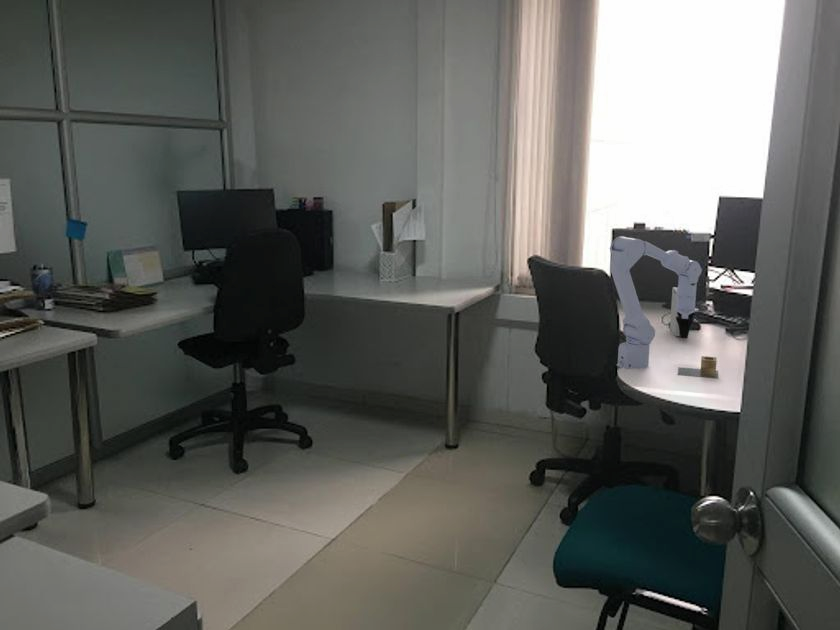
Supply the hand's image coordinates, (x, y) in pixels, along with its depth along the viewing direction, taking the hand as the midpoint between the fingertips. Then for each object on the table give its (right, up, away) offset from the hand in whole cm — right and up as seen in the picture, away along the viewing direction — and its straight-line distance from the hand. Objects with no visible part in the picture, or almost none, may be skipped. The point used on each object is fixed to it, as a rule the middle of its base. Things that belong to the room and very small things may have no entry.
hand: (684, 335), depth 240 cm
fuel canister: (+13, -1, +40) cm, 42 cm away
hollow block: (+2, -12, -14) cm, 19 cm away
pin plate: (-1, -13, -13) cm, 18 cm away
